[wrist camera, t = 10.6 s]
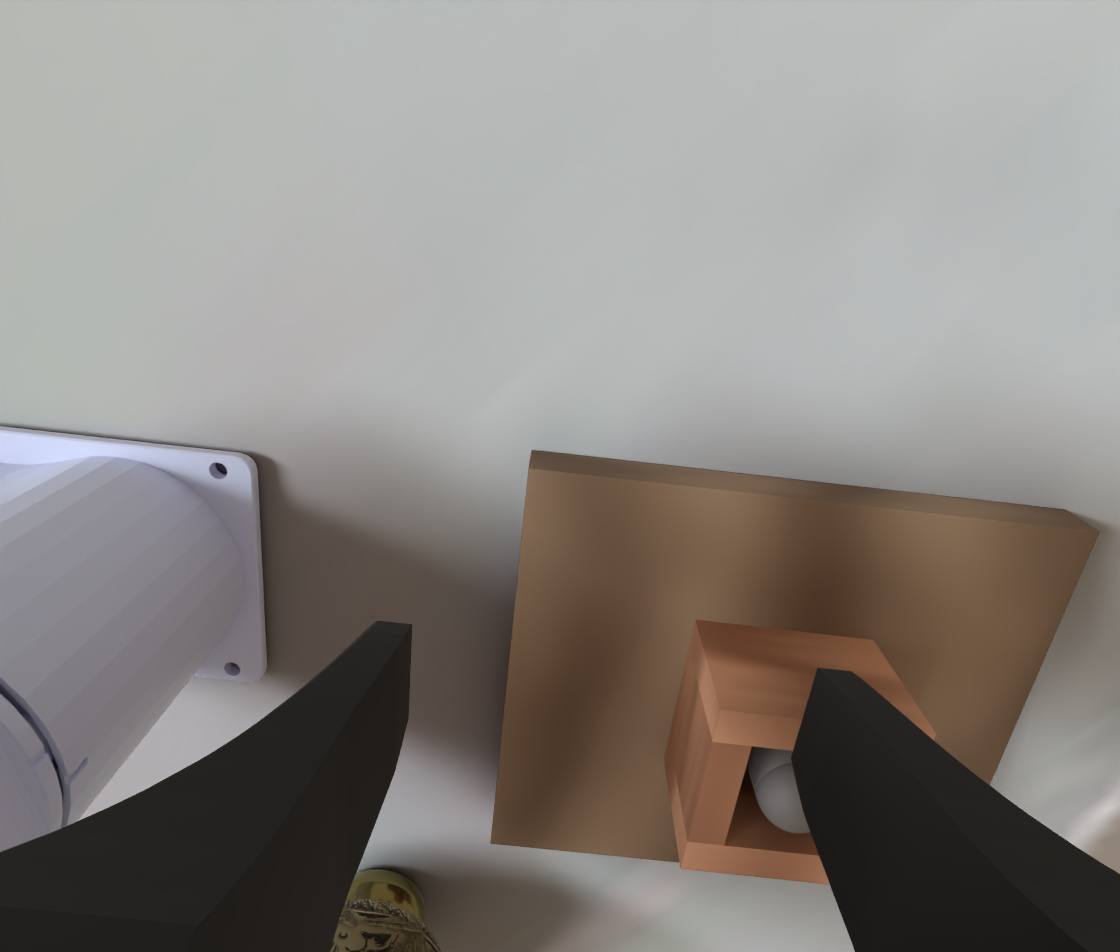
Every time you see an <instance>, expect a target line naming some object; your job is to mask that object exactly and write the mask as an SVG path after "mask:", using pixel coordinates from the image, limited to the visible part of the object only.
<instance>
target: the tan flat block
mask: <svg viewBox="0 0 1120 952" xmlns="http://www.w3.org/2000/svg"><path fill="white" fill-rule="evenodd" d="M1098 533H1099V531H1097V530H1096V529H1094V528H1092V527H1091V526H1089V525H1088V524H1086V523H1085V522H1083V521H1082V520H1080V519H1079V518H1077V517H1075V516H1074V515H1072V514H1071V513H1069V512H1068V511H1066V510H1063V509H1054V508H1045V507H1036V506H1027V505H1018V504H1009V503H1000V502H991V501H982V500H973V499H964V498H955V497H946V496H937V495H929V494H920V493H911V492H902V491H893V490H884V489H875V488H866V487H857V486H848V485H839V484H830V483H821V482H812V481H803V480H794V479H785V478H776V477H767V476H758V475H750V474H741V473H732V472H723V471H714V470H705V469H696V468H687V467H678V466H669V465H660V464H651V463H642V462H633V461H624V460H615V459H606V458H597V457H588V456H579V455H571V454H562V453H553V452H544V451H535V450H532V452H531V457H530V463H529V469H528V479H527V489H526V499H525V509H524V519H523V528H522V538H521V548H520V558H519V568H518V578H517V588H516V597H515V607H514V617H513V627H512V637H511V647H510V657H509V666H508V676H507V686H506V696H505V706H504V716H503V726H502V735H501V745H500V755H499V765H498V775H497V785H496V795H495V804H494V814H493V824H492V834H491V844H501V845H511V846H521V847H531V848H541V849H551V850H561V851H571V852H581V853H591V854H601V855H611V856H621V857H631V858H641V859H651V860H661V861H671V862H679V855H678V849H677V842H676V836H675V829H674V823H673V816H672V810H671V804H670V797H669V791H668V784H667V778H666V771H665V765H664V757H665V753H666V748H667V744H668V739H669V735H670V730H671V726H672V721H673V717H674V712H675V708H676V703H677V699H678V694H679V690H680V685H681V681H682V677H683V672H684V668H685V663H686V659H687V654H688V650H689V645H690V641H691V636H692V632H693V627H694V623H695V619H696V620H704V621H713V622H722V623H730V624H739V625H748V626H756V627H765V628H774V629H782V630H791V631H800V632H808V633H817V634H826V635H834V636H843V637H852V638H860V639H869V640H874V641H875V643H876V644H877V646H878V647H879V649H880V650H881V652H882V653H883V655H884V656H885V658H886V659H887V661H888V662H889V664H890V665H891V667H892V668H893V670H894V671H895V673H896V674H897V676H898V677H899V679H900V680H901V682H902V683H903V685H904V686H905V688H906V689H907V691H908V692H909V694H910V695H911V697H912V698H913V700H914V701H915V703H916V704H917V706H918V707H919V709H920V710H921V712H922V713H923V715H924V716H925V718H926V719H927V721H928V722H929V724H930V725H931V727H932V728H933V730H934V731H935V733H936V736H935V739H934V741H935V742H936V743H938V744H939V745H940V746H941V747H942V748H943V749H945V750H946V751H947V752H948V753H949V754H951V755H952V756H953V757H954V758H956V759H957V760H958V761H959V762H960V763H962V764H963V765H964V766H965V767H967V768H968V769H969V770H970V771H972V772H973V773H974V774H975V775H977V776H978V777H979V778H981V779H982V780H983V781H984V782H986V783H987V784H988V785H990V783H991V780H992V778H993V776H994V773H995V771H996V769H997V767H998V764H999V762H1000V760H1001V757H1002V755H1003V753H1004V750H1005V748H1006V746H1007V743H1008V741H1009V739H1010V737H1011V734H1012V732H1013V730H1014V727H1015V725H1016V723H1017V720H1018V718H1019V716H1020V713H1021V711H1022V709H1023V707H1024V704H1025V702H1026V700H1027V697H1028V695H1029V693H1030V690H1031V688H1032V686H1033V683H1034V681H1035V679H1036V677H1037V674H1038V672H1039V670H1040V667H1041V665H1042V663H1043V660H1044V658H1045V656H1046V653H1047V651H1048V649H1049V647H1050V644H1051V642H1052V640H1053V637H1054V635H1055V633H1056V630H1057V628H1058V626H1059V623H1060V621H1061V619H1062V617H1063V614H1064V612H1065V610H1066V607H1067V605H1068V603H1069V600H1070V598H1071V596H1072V593H1073V591H1074V589H1075V587H1076V584H1077V582H1078V580H1079V577H1080V575H1081V573H1082V570H1083V568H1084V566H1085V563H1086V561H1087V559H1088V557H1089V554H1090V552H1091V550H1092V547H1093V545H1094V543H1095V540H1096V538H1097V536H1098ZM792 752H793V751H790V750H781V749H772V748H763V747H754V746H752V748H751V751H750V755H749V758H748V762H747V768H748V772H749V775H750V778H751V782H752V785H753V788H754V792H755V795H756V798H757V801H758V804H759V807H760V808H761V810H762V812H763V814H764V815H765V816H766V817H767V819H768V820H769V821H770V822H772V823H773V824H774V825H775V826H777V827H778V828H780V829H782V830H784V831H787V832H791V833H798V834H800V833H808V832H810V830H809V827H808V824H807V821H806V819H805V816H804V813H803V809H802V805H801V801H800V797H799V793H798V789H797V784H796V779H795V775H794V770H793V766H792V761H791V756H792Z"/></svg>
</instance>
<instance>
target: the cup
mask: <svg viewBox="0 0 1120 952" xmlns="http://www.w3.org/2000/svg"><path fill="white" fill-rule="evenodd" d="M425 923H426V908H425V903H424V899H423V896H422V894H421V892H420V890H419V889H418V887H417V886H416V885H415V884H414V883H413V882H412V881H411V880H410V879H408V878H407V877H405V876H403V875H401V874H399V873H396V872H393V871H389V870H382V869H373V870H366V871H362V872H359V873H357V874H356V875H355V877H354V880H353V882H352V885H351V888H350V890H349V893H348V896H347V899H346V902H345V904H344V907H343V910H342V913H341V916H340V919H339V922H338V926H337V929H336V933H335V936H334V940H333V943H332V947H331V950H330V952H441V950H440V947H439V945H438V943H437V941H436V939H435V938H434V936H433V935H432V933H431V932H430V931H429V929H428V928H427V927H426V926H425Z"/></svg>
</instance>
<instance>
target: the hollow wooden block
mask: <svg viewBox="0 0 1120 952" xmlns="http://www.w3.org/2000/svg"><path fill="white" fill-rule="evenodd" d="M817 668H826V669H836V670H845V671H852V672H853V673H855V674H856V675H857V676H859V677H860V678H861V679H862V680H864V681H865V682H866V683H867V684H869V685H870V686H871V687H872V688H873V689H875V690H876V691H877V692H878V693H879V694H881V695H882V696H883V697H884V698H885V699H886V700H888V701H889V702H890V703H891V704H892V705H893V706H894V707H896V708H897V709H898V710H899V711H900V712H901V713H903V714H904V715H905V716H906V717H907V718H908V719H909V720H911V721H912V722H913V723H914V724H915V725H916V726H918V727H919V728H920V729H921V730H922V731H923V732H925V733H926V734H927V735H928V736H929V737H930V738H932V739H933V740H934V739H935V736H936V733H935V731H934V730H933V728H932V727H931V725H930V724H929V722H928V721H927V719H926V718H925V716H924V715H923V713H922V712H921V710H920V709H919V707H918V706H917V704H916V703H915V701H914V700H913V698H912V697H911V695H910V694H909V692H908V691H907V689H906V688H905V686H904V685H903V683H902V682H901V680H900V679H899V677H898V676H897V674H896V673H895V671H894V670H893V668H892V667H891V665H890V664H889V662H888V661H887V659H886V658H885V656H884V655H883V653H882V652H881V650H880V649H879V647H878V646H877V644H876V643H875V641H874V640H869V639H860V638H852V637H843V636H834V635H826V634H817V633H808V632H800V631H791V630H782V629H774V628H765V627H756V626H748V625H739V624H730V623H722V622H713V621H704V620H696V619H695V623H694V627H693V632H692V636H691V641H690V645H689V650H688V654H687V659H686V663H685V668H684V672H683V677H682V681H681V685H680V690H679V694H678V699H677V703H676V708H675V712H674V717H673V721H672V726H671V730H670V735H669V739H668V744H667V748H666V753H665V757H664V765H665V771H666V778H667V784H668V791H669V797H670V804H671V810H672V816H673V823H674V829H675V836H676V842H677V849H678V855H679V862H680V868H681V869H689V870H699V871H708V872H717V873H727V874H736V875H745V876H755V877H764V878H773V879H783V880H792V881H802V882H811V883H820V884H830V883H829V881H828V878H827V875H826V873H825V870H824V867H823V865H822V862H821V860H820V857H819V854H818V851H817V849H816V846H815V843H814V841H813V838H812V835H811V832H808V833H800V834H798V833H791V832H787V831H784V830H782V829H780V828H778V827H777V826H775V825H774V824H773V823H772V822H770V821H769V820H768V819H767V817H766V816H765V815H764V814H763V812H762V810H761V808H760V807H759V804H758V801H757V798H756V795H755V792H754V788H753V785H752V782H751V778H750V775H749V772H748V768H747V762H748V758H749V755H750V751H751V748H752V746H754V747H763V748H772V749H781V750H790V751H793V749H794V745H795V742H796V739H797V735H798V732H799V728H800V725H801V722H802V718H803V715H804V712H805V708H806V705H807V701H808V698H809V695H810V691H811V688H812V684H813V681H814V678H815V674H816V671H817Z"/></svg>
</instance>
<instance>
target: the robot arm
mask: <svg viewBox="0 0 1120 952" xmlns="http://www.w3.org/2000/svg"><path fill="white" fill-rule="evenodd" d="M216 462H218V463H221V464H223V465H224V466H225V467H226V469H227V474H222V473H220V472H219V471H218V470H217V469H216V466H215V464H216ZM411 639H412V624H403V623H393V622H384V621H377V622H375V623H374V624H373V625H371V626H370V627H369V628H368V629H367V630H366V631H365V632H364V633H363V634H362V635H361V636H360V637H358V638H357V639H356V640H355V641H354V642H353V643H352V644H351V645H350V646H349V647H348V648H347V649H346V650H345V651H344V652H342V653H341V654H340V655H339V656H338V657H337V658H336V659H335V660H334V661H333V662H331V663H330V664H329V665H328V666H327V667H326V668H325V669H323V670H322V671H321V672H320V673H319V674H318V675H316V676H315V677H314V678H313V679H312V680H311V681H309V682H308V683H307V684H306V685H305V686H304V687H302V688H301V689H300V690H299V691H298V692H296V693H295V694H294V695H293V696H291V697H290V698H289V699H287V700H286V701H285V702H284V703H282V704H281V705H280V706H278V707H277V708H276V709H274V710H273V711H272V712H271V713H269V714H268V715H267V716H265V717H264V718H263V719H261V720H260V721H259V722H257V723H256V724H255V725H253V726H252V727H250V728H249V729H247V730H246V731H245V732H243V733H242V734H240V735H239V736H237V737H236V738H234V739H233V740H231V741H230V742H228V743H227V744H225V745H223V746H222V747H220V748H219V749H217V750H216V751H214V752H212V753H211V754H209V755H207V756H206V757H204V758H202V759H201V760H199V761H197V762H195V763H193V764H192V765H190V766H188V767H186V768H184V769H182V770H181V771H179V772H177V773H175V774H173V775H172V776H170V777H168V778H166V779H164V780H162V781H161V782H159V783H157V784H155V785H153V786H151V787H150V788H148V789H146V790H144V791H142V792H140V793H138V794H136V795H134V796H132V797H130V798H128V799H125V800H123V801H121V802H119V803H117V804H115V805H113V806H111V807H109V808H107V809H104V810H102V811H100V812H98V813H95V814H93V815H91V816H89V817H86V818H84V819H82V820H80V821H78V819H79V818H80V817H81V816H82V814H83V813H84V812H85V811H86V809H87V808H88V807H89V806H90V804H91V803H92V802H93V801H94V799H95V798H96V797H97V796H98V794H99V793H100V792H101V791H102V789H103V788H104V787H105V786H106V784H107V783H108V782H109V781H110V779H111V778H112V777H113V776H114V774H115V773H116V772H117V771H118V769H119V768H120V767H121V766H122V764H123V763H124V762H125V761H126V759H127V758H128V757H129V756H130V754H131V753H132V752H133V750H134V749H135V748H136V747H137V745H138V744H139V743H140V742H141V740H142V739H143V738H144V737H145V735H146V734H147V733H148V732H149V730H150V729H151V728H152V727H153V725H154V724H155V723H156V722H157V720H158V719H159V718H160V717H161V715H162V714H163V713H164V712H165V710H166V709H167V708H168V707H169V705H170V704H171V703H172V702H173V700H174V699H175V698H176V697H177V695H178V694H179V693H180V692H181V690H182V689H183V688H184V687H185V685H186V684H187V683H188V682H189V680H190V679H191V678H192V677H202V678H212V679H221V680H231V681H240V682H256V681H258V680H260V679H261V677H262V676H263V675H264V673H265V672H266V669H267V654H266V633H265V613H264V592H263V572H262V551H261V531H260V511H259V490H258V470H257V466H256V464H255V462H254V461H253V459H252V458H250V457H249V456H247V455H246V454H242V453H237V452H228V451H219V450H210V449H201V448H192V447H183V446H174V445H165V444H156V443H147V442H138V441H129V440H120V439H111V438H102V437H93V436H84V435H75V434H66V433H57V432H48V431H39V430H30V429H21V428H12V427H2V426H0V952H330V950H331V947H332V943H333V940H334V936H335V933H336V929H337V926H338V922H339V919H340V916H341V913H342V910H343V907H344V904H345V902H346V899H347V896H348V893H349V890H350V888H351V885H352V882H353V880H354V877H355V875H356V872H357V869H358V867H359V864H360V862H361V859H362V856H363V854H364V851H365V849H366V846H367V843H368V841H369V838H370V836H371V833H372V830H373V828H374V825H375V823H376V820H377V817H378V815H379V812H380V810H381V807H382V804H383V802H384V799H385V796H386V794H387V791H388V789H389V786H390V783H391V781H392V778H393V775H394V772H395V769H396V765H397V761H398V757H399V754H400V750H401V746H402V742H403V738H404V734H405V730H406V726H407V722H408V714H409V689H410V664H411ZM231 662H232V663H235V664H237V665H238V666H239V668H235V667H233V666H232V665H231V664H230V663H231ZM791 761H792V766H793V770H794V775H795V779H796V784H797V789H798V793H799V797H800V801H801V805H802V809H803V813H804V816H805V819H806V821H807V824H808V827H809V830H810V832H811V835H812V838H813V841H814V843H815V846H816V849H817V851H818V854H819V857H820V860H821V862H822V865H823V867H824V870H825V873H826V875H827V878H828V881H829V883H830V886H831V888H832V891H833V894H834V896H835V899H836V902H837V904H838V907H839V910H840V912H841V915H842V917H843V920H844V923H845V925H846V928H847V931H848V933H849V936H850V939H851V941H852V944H853V947H854V950H855V952H1120V874H1119V873H1117V872H1115V871H1114V870H1112V869H1110V868H1109V867H1107V866H1105V865H1104V864H1102V863H1100V862H1099V861H1097V860H1096V859H1094V858H1093V857H1091V856H1089V855H1088V854H1086V853H1085V852H1083V851H1082V850H1080V849H1078V848H1077V847H1075V846H1074V845H1072V844H1071V843H1069V842H1068V841H1066V840H1065V839H1064V838H1062V837H1061V836H1059V835H1058V834H1056V833H1055V832H1053V831H1052V830H1050V829H1049V828H1047V827H1046V826H1044V825H1043V824H1042V823H1040V822H1039V821H1037V820H1036V819H1034V818H1033V817H1031V816H1030V815H1028V814H1027V813H1026V812H1024V811H1023V810H1022V809H1020V808H1019V807H1017V806H1016V805H1015V804H1013V803H1012V802H1011V801H1009V800H1008V799H1006V798H1005V797H1004V796H1003V795H1001V794H1000V793H999V792H997V791H996V790H995V789H994V788H992V787H991V786H990V785H988V784H987V783H986V782H984V781H983V780H982V779H981V778H979V777H978V776H977V775H975V774H974V773H973V772H972V771H970V770H969V769H968V768H967V767H965V766H964V765H963V764H962V763H960V762H959V761H958V760H957V759H956V758H954V757H953V756H952V755H951V754H949V753H948V752H947V751H946V750H945V749H943V748H942V747H941V746H940V745H939V744H938V743H936V742H935V741H934V740H933V739H932V738H930V737H929V736H928V735H927V734H926V733H925V732H923V731H922V730H921V729H920V728H919V727H918V726H916V725H915V724H914V723H913V722H912V721H911V720H909V719H908V718H907V717H906V716H905V715H904V714H903V713H901V712H900V711H899V710H898V709H897V708H896V707H894V706H893V705H892V704H891V703H890V702H889V701H888V700H886V699H885V698H884V697H883V696H882V695H881V694H879V693H878V692H877V691H876V690H875V689H873V688H872V687H871V686H870V685H869V684H867V683H866V682H865V681H864V680H862V679H861V678H860V677H859V676H857V675H856V674H855V673H853V672H852V671H845V670H836V669H826V668H817V671H816V674H815V678H814V681H813V684H812V688H811V691H810V695H809V698H808V701H807V705H806V708H805V712H804V715H803V718H802V722H801V725H800V728H799V732H798V735H797V739H796V742H795V745H794V749H793V752H792V756H791Z"/></svg>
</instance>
